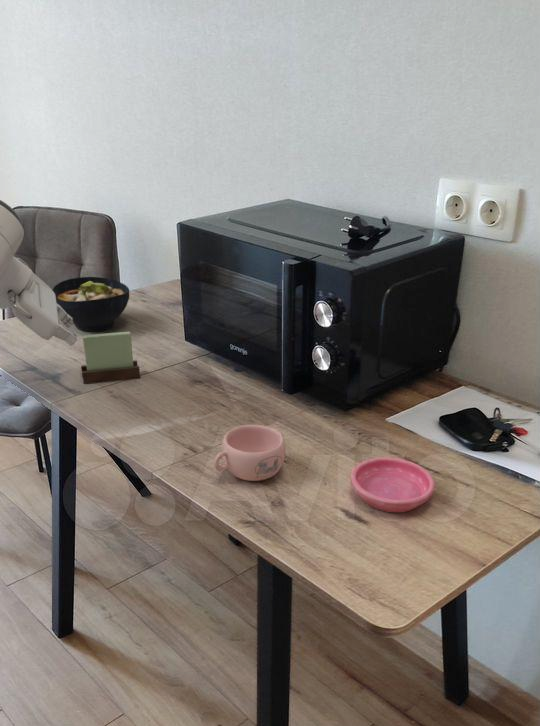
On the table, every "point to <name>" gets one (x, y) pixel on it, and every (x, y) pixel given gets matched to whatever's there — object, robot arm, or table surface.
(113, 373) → the rack
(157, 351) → the table surface
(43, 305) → the robot arm
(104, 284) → the bowl
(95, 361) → the green square tile
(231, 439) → the mug
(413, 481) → the saucer
